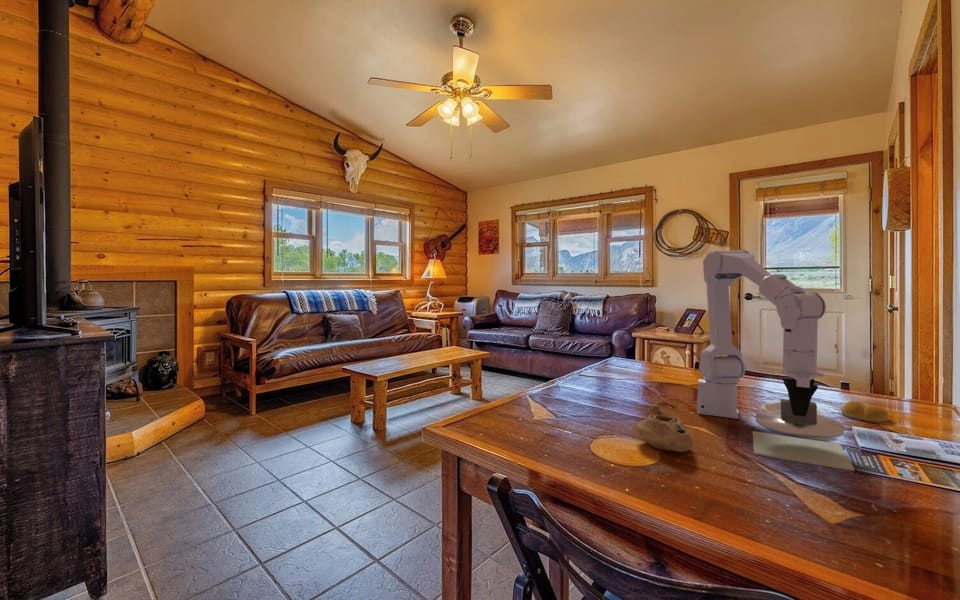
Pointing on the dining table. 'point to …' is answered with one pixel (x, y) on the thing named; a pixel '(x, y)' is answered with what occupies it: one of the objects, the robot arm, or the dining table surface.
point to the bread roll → (865, 412)
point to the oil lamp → (664, 431)
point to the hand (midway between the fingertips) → (798, 413)
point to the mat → (801, 450)
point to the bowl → (777, 407)
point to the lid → (799, 422)
